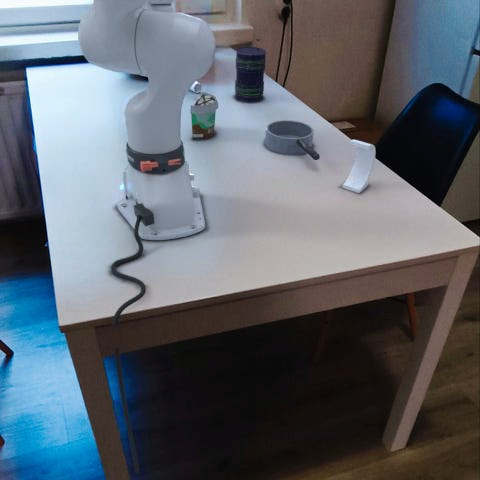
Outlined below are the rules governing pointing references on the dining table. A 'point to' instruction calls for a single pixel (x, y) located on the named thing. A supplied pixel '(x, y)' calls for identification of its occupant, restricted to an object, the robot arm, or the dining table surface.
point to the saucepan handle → (308, 149)
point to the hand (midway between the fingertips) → (157, 51)
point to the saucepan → (288, 136)
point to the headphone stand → (361, 166)
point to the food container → (203, 116)
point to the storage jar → (250, 74)
